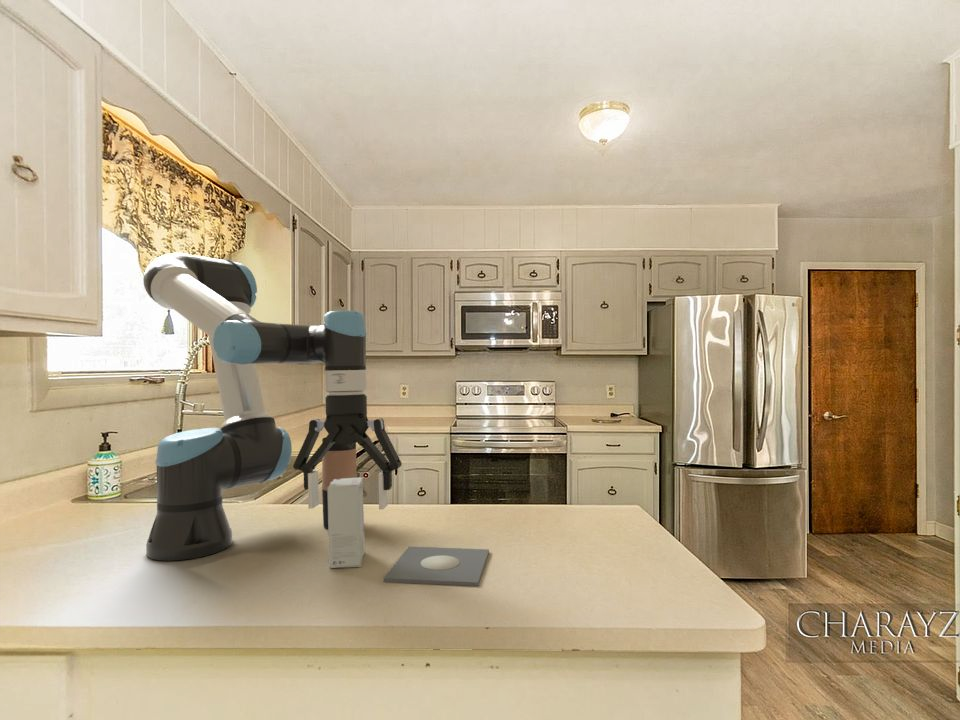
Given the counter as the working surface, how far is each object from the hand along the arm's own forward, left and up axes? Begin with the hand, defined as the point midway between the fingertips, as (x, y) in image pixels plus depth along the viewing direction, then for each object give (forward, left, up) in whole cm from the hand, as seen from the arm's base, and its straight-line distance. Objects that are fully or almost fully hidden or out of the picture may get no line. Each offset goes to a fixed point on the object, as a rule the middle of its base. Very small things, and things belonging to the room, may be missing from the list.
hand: (348, 507), depth 100 cm
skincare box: (0, 0, -10) cm, 10 cm away
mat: (+18, -1, -10) cm, 20 cm away
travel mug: (-10, +21, -10) cm, 26 cm away
